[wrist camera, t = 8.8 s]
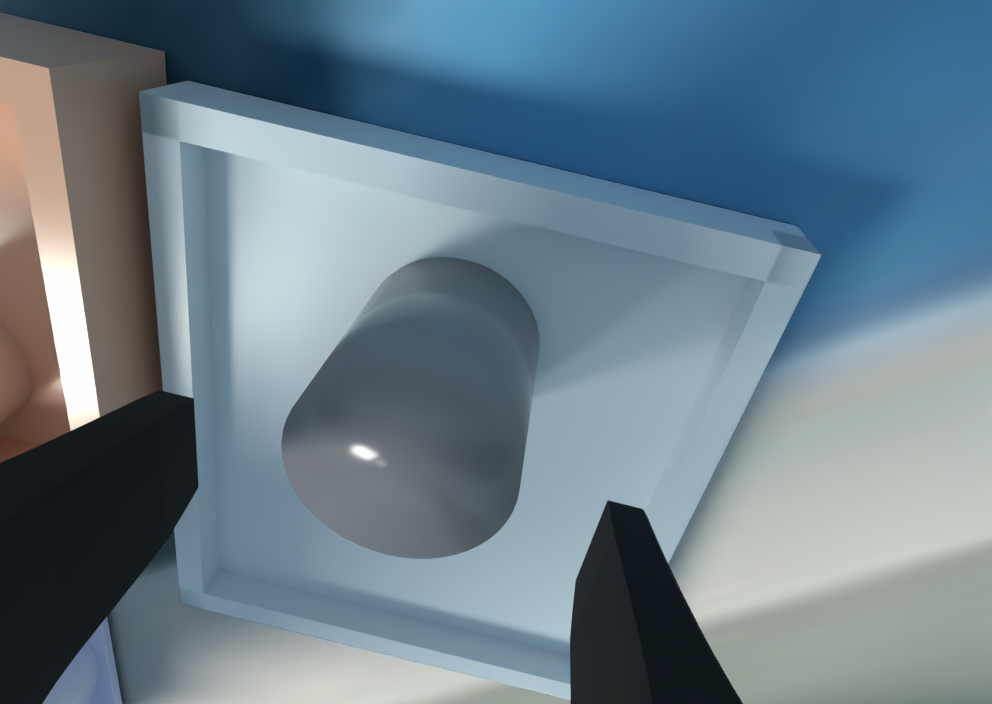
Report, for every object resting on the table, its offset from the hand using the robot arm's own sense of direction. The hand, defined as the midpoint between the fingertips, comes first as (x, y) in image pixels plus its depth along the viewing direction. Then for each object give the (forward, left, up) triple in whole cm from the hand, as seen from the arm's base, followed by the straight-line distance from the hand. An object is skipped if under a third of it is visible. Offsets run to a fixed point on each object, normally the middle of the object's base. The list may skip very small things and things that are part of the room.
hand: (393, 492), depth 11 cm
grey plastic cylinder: (0, 0, -6) cm, 6 cm away
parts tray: (-4, 0, -6) cm, 7 cm away
